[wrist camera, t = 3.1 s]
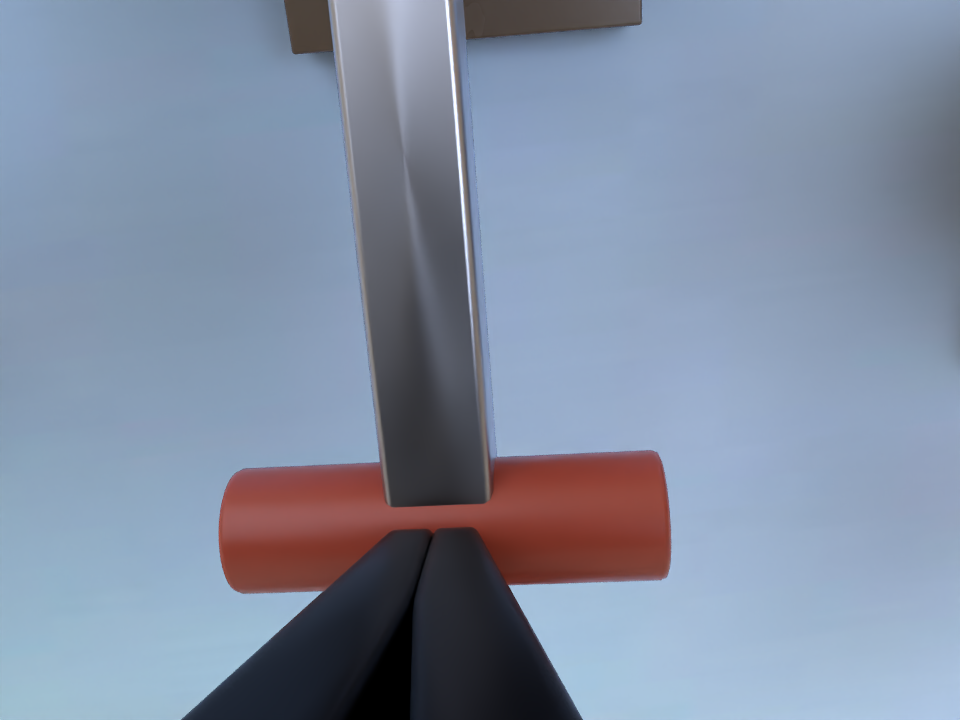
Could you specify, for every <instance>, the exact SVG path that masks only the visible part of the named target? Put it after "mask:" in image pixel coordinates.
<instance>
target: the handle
mask: <svg viewBox="0 0 960 720" xmlns="http://www.w3.org/2000/svg"><path fill="white" fill-rule="evenodd" d="M328 7H329V16H330V24H331V33H332V42H333V51H334V60H335V69H336V77H337V86H338V95H339V104H340V113H341V122H342V131H343V139H344V148H345V157H346V166H347V175H348V184H349V193H350V201H351V210H352V219H353V228H354V237H355V246H356V255H357V263H358V272H359V281H360V290H361V299H362V308H363V317H364V325H365V334H366V343H367V352H368V361H369V370H370V378H371V387H372V396H373V405H374V414H375V423H376V432H377V440H378V449H379V458H380V462H379V463H356V464H334V465H312V466H290V467H267V468H246V469H242V470H240V471H238V472H236V473H235V474H234V475H233V476H232V477H231V479H230V481H229V482H228V484H227V487H226V489H225V492H224V496H223V500H222V504H221V510H220V518H219V550H220V558H221V563H222V568H223V571H224V574H225V577H226V579H227V581H228V583H229V585H230V586H231V587H232V588H233V589H234V590H235V591H237V592H240V593H243V594H251V593H282V592H313V591H324V590H326V589H327V588H328V587H329V586H330V585H331V584H332V583H333V582H334V581H336V580H337V579H338V578H339V577H340V576H341V575H342V574H343V573H344V572H345V571H347V570H348V569H349V568H350V567H351V566H352V565H353V564H354V563H355V562H357V561H358V560H359V559H360V558H361V557H362V556H363V555H364V554H365V553H367V552H368V551H369V550H370V549H371V548H372V547H373V546H374V545H375V544H377V543H378V542H379V541H380V540H381V539H382V538H383V537H384V536H385V535H387V534H388V533H389V532H391V531H393V530H402V529H429V530H431V531H432V533H433V534H434V532H435V531H436V530H437V529H439V528H454V527H473V528H475V529H476V530H477V531H478V532H479V534H480V536H481V538H482V539H483V541H484V543H485V545H486V547H487V548H488V550H489V552H490V554H491V556H492V557H493V559H494V561H495V563H496V565H497V566H498V568H499V570H500V572H501V574H502V575H503V577H504V579H505V581H506V583H507V584H508V585H528V584H559V583H590V582H621V581H651V580H662V579H664V578H666V577H667V575H668V572H669V569H670V562H671V525H670V511H669V500H668V491H667V484H666V478H665V472H664V468H663V464H662V461H661V459H660V457H659V455H658V453H657V452H654V451H651V450H646V451H624V452H601V453H579V454H557V455H535V456H512V457H497V450H496V436H495V423H494V409H493V396H492V383H491V369H490V356H489V342H488V329H487V315H486V302H485V288H484V275H483V261H482V248H481V234H480V221H479V208H478V194H477V181H476V167H475V154H474V140H473V127H472V113H471V100H470V86H469V73H468V60H467V46H466V33H465V19H464V6H463V0H328Z"/></svg>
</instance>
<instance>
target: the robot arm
mask: <svg viewBox="0 0 960 720" xmlns="http://www.w3.org/2000/svg"><path fill="white" fill-rule="evenodd" d="M181 720H583V719H582V717H581V716H580V714H579V712H578V710H577V708H576V707H575V705H574V703H573V701H572V699H571V698H570V696H569V694H568V692H567V690H566V689H565V687H564V685H563V683H562V681H561V680H560V678H559V676H558V674H557V672H556V671H555V669H554V667H553V665H552V663H551V662H550V660H549V658H548V656H547V654H546V653H545V651H544V649H543V647H542V645H541V644H540V642H539V640H538V638H537V636H536V635H535V633H534V631H533V629H532V627H531V626H530V624H529V622H528V620H527V618H526V617H525V615H524V613H523V611H522V609H521V608H520V606H519V604H518V602H517V601H516V599H515V597H514V595H513V593H512V592H511V590H510V588H509V586H508V584H507V583H506V581H505V579H504V577H503V575H502V574H501V572H500V570H499V568H498V566H497V565H496V563H495V561H494V559H493V557H492V556H491V554H490V552H489V550H488V548H487V547H486V545H485V543H484V541H483V539H482V538H481V536H480V534H479V532H478V531H477V530H476V529H475V528H473V527H454V528H439V529H437V530H436V531H435V532H434V534H433V533H432V531H431V530H429V529H402V530H393V531H391V532H389V533H388V534H387V535H385V536H384V537H383V538H382V539H381V540H380V541H379V542H378V543H377V544H375V545H374V546H373V547H372V548H371V549H370V550H369V551H368V552H367V553H365V554H364V555H363V556H362V557H361V558H360V559H359V560H358V561H357V562H355V563H354V564H353V565H352V566H351V567H350V568H349V569H348V570H347V571H345V572H344V573H343V574H342V575H341V576H340V577H339V578H338V579H337V580H336V581H334V582H333V583H332V584H331V585H330V586H329V587H328V588H327V589H326V590H324V591H323V592H322V593H321V594H320V595H319V596H318V597H317V598H316V599H314V600H313V601H312V602H311V603H310V604H309V605H308V606H307V607H306V608H304V609H303V610H302V611H301V612H300V613H299V614H298V615H297V616H296V617H294V618H293V619H292V620H291V621H290V622H289V623H288V624H287V625H286V626H284V627H283V628H282V629H281V630H280V631H279V632H278V633H277V634H276V635H275V636H273V637H272V638H271V639H270V640H269V641H268V642H267V643H266V644H265V645H263V646H262V647H261V648H260V649H259V650H258V651H257V652H256V653H255V654H253V655H252V656H251V657H250V658H249V659H248V660H247V661H246V662H245V663H243V664H242V665H241V666H240V667H239V668H238V669H237V670H236V671H235V672H233V673H232V674H231V675H230V676H229V677H228V678H227V679H226V680H225V681H223V682H222V683H221V684H220V685H219V686H218V687H217V688H216V689H215V690H214V691H212V692H211V693H210V694H209V695H208V696H207V697H206V698H205V699H204V700H202V701H201V702H200V703H199V704H198V705H197V706H196V707H195V708H194V709H192V710H191V711H190V712H189V713H188V714H187V715H186V716H185V717H184V718H182V719H181Z"/></svg>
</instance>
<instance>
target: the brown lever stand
mask: <svg viewBox="0 0 960 720" xmlns="http://www.w3.org/2000/svg"><path fill="white" fill-rule="evenodd" d="M284 2H285V9H286V15H287V22H288V28H289V34H290V41H291V47H292V52H293V54H307V53H318V52H330V51H333V42H332V33H331V24H330V16H329V7H328V0H284ZM463 6H464V19H465V33H466V40H470V39H482V38H494V37H505V36H517V35H529V34H541V33H552V32H564V31H576V30H587V29H599V28H611V27H622V26H634V25H640V24H641V23H642V0H463Z"/></svg>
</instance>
